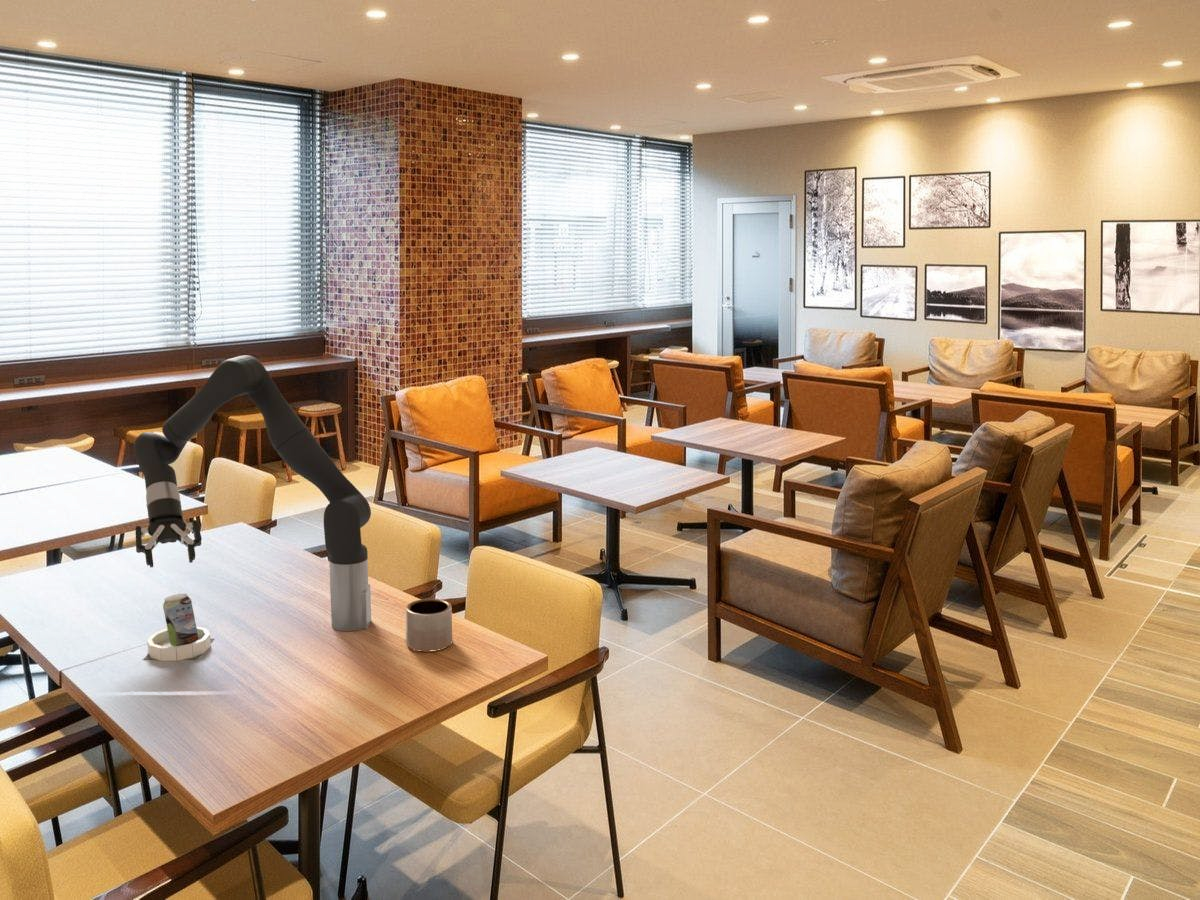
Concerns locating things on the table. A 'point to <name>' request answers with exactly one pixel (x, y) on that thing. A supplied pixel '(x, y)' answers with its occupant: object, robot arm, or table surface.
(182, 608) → the beverage can
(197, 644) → the bowl
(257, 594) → the table surface
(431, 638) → the planter
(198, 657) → the mat
